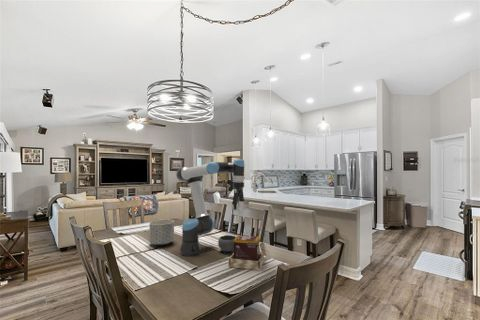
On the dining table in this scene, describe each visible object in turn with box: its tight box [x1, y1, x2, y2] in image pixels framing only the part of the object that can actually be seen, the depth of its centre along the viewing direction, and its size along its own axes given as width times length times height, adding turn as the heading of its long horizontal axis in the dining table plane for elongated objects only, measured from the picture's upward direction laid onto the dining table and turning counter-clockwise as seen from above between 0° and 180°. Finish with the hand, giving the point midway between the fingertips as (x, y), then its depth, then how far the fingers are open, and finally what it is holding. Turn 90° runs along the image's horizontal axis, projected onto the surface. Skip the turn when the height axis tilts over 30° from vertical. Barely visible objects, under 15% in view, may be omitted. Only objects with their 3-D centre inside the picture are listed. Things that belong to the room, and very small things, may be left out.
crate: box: [228, 252, 265, 271], centre depth 158 cm, size 20×15×5 cm
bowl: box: [217, 234, 237, 253], centre depth 182 cm, size 15×15×10 cm
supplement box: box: [233, 234, 260, 261], centre depth 158 cm, size 10×15×16 cm
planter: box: [148, 218, 175, 247], centre depth 198 cm, size 19×19×18 cm
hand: (238, 212), depth 168 cm, fingers open, 13 cm apart
